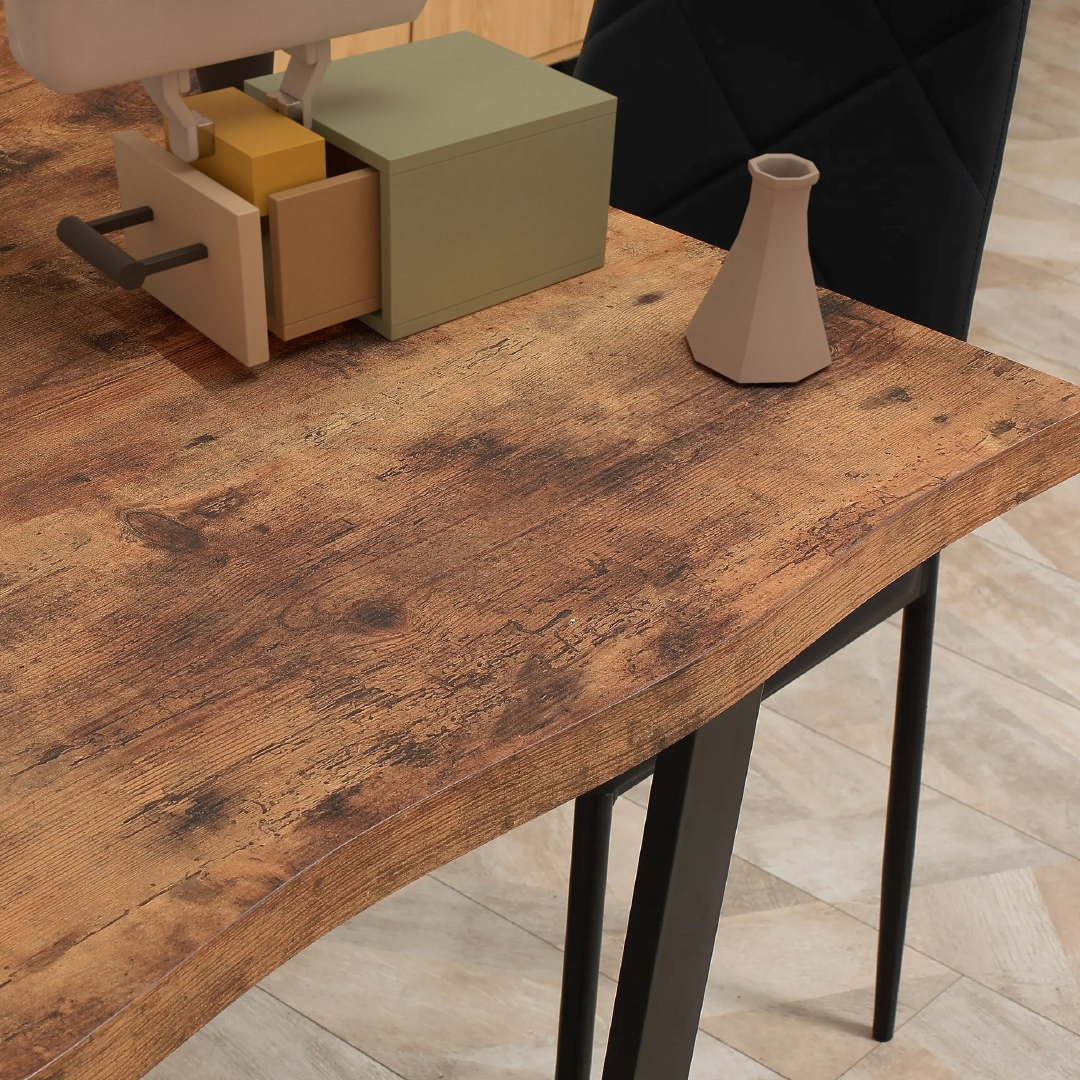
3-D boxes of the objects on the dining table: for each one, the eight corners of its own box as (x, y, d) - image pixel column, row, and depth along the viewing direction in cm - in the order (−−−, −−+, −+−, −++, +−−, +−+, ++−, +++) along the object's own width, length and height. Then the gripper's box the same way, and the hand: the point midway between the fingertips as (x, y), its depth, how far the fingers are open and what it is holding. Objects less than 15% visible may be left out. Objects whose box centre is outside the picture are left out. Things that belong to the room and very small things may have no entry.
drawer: (159, 399, 70) (141, 242, 66) (44, 304, 77) (20, 155, 73) (471, 291, 80) (474, 148, 76) (344, 215, 87) (340, 79, 83)
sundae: (267, 201, 90) (251, -65, 81) (165, 181, 92) (138, -82, 83) (316, 160, 95) (306, -94, 87) (219, 142, 97) (199, -110, 88)
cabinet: (391, 342, 78) (389, 160, 72) (254, 251, 85) (243, 80, 79) (604, 266, 86) (617, 97, 80) (462, 189, 93) (465, 29, 87)
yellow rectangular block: (166, 161, 76) (160, 102, 74) (237, 144, 78) (233, 86, 76) (255, 218, 71) (251, 157, 70) (327, 198, 73) (325, 138, 72)
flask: (732, 400, 74) (759, 207, 69) (659, 332, 80) (679, 147, 74) (856, 373, 77) (892, 185, 71) (778, 309, 82) (806, 128, 76)
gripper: (377, -205, 73) (380, 81, 81) (-39, -159, 62) (13, 169, 70) (460, -178, 69) (454, 119, 78) (34, -124, 58) (80, 218, 66)
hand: (242, 143), depth 74 cm, fingers closed on yellow rectangular block, 4 cm apart
